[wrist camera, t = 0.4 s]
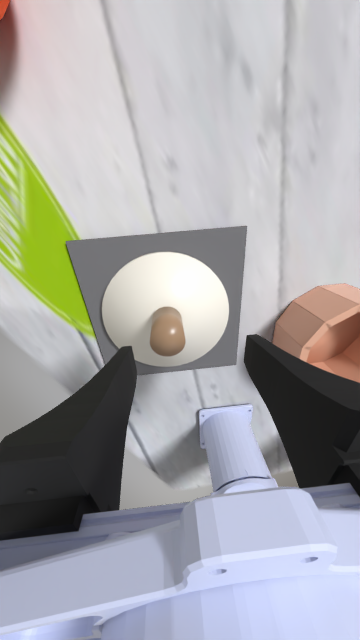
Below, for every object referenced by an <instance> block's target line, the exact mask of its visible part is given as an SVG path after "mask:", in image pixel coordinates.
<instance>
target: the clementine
mask: <svg viewBox="0 0 360 640" xmlns="http://www.w3.org/2000/svg"><path fill="white" fill-rule="evenodd" d="M9 2H10V0H0V20H1V19H2V18H3V17H4V14H5V12H6V9H7V7H8V4H9Z"/></svg>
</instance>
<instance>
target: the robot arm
mask: <svg viewBox="0 0 360 640" xmlns="http://www.w3.org/2000/svg"><path fill="white" fill-rule="evenodd" d="M244 363H245V365H246V368H247V371H248V373H249V375H250V377H251V379H252V381H253V383H254V385H255V386H256V388H257V390H258V392H259V393H260V395H261V397H262V399H263V401H264V402H265V404H266V406H267V408H268V410H269V412H270V414H271V416H272V419H273V421H274V423H275V425H276V428H277V430H278V433H279V435H280V437H281V440H282V442H283V445H284V447H285V450H286V453H287V455H288V458H289V460H290V463H291V466H292V468H293V471H294V474H295V477H296V480H297V483H298V486H299V488H298V487H278V485H277V483H276V481H275V478H272V477H271V474H270V472H269V470H268V467H267V465H266V462H265V460H264V457H263V455H262V453H261V450H260V448H259V445H258V443H257V440H256V438H255V436H254V433H253V431H252V428H251V426H250V424H251V417H252V411H253V406H252V405H251V404H246V405H237V406H228V407H220V408H211V409H202V410H200V411H199V429H200V447H201V449H206V452H207V458H208V463H209V469H210V474H211V480H212V485H213V491H214V492H213V493H211V495H210V496H205V497H202V498H197V499H195V500H193V501H192V502H184V503H176V504H167V505H159V506H150V507H142V508H133V509H125V510H119V505H120V491H121V478H122V468H123V458H124V448H125V439H126V431H127V425H128V419H129V415H130V410H131V406H132V401H133V397H134V392H135V387H136V379H137V368H136V364H135V359H134V354H133V350H132V346H123V347H121V348H120V349H119V350H118V351H117V352H116V354H115V355H114V356H113V357H112V358H111V359H110V360H109V362H108V363H107V364H106V365H105V366H104V367H103V368H102V369H101V370H100V371H99V372H98V373H97V374H96V375H95V376H94V377H93V378H92V379H91V380H90V381H89V382H88V383H87V384H85V385H84V386H83V387H82V388H81V389H79V390H78V391H77V392H76V393H75V394H73V395H72V396H70V397H69V398H68V399H66V400H65V401H64V402H62V403H61V404H60V405H58V406H57V407H55V408H54V409H52V410H51V411H49V412H48V413H46V414H44V415H43V416H41V417H40V418H38V419H36V420H35V421H33V422H31V423H29V424H28V425H26V426H24V427H22V428H21V429H18V430H17V431H15V432H13V433H12V434H9V435H8V436H6V437H4V439H3V440H2V441H1V443H0V640H360V383H359V382H356V381H353V380H350V379H347V378H344V377H341V376H338V375H336V374H333V373H330V372H328V371H325V370H323V369H320V368H318V367H316V366H313V365H311V364H309V363H307V362H305V361H303V360H301V359H299V358H297V357H295V356H293V355H291V354H289V353H288V352H286V351H284V350H282V349H281V348H279V347H277V346H276V345H274V344H272V343H271V342H269V341H267V340H266V339H264V338H262V337H260V336H259V335H257V334H255V335H247V338H246V346H245V355H244Z"/></svg>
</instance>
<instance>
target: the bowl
mask: <svg viewBox="0 0 360 640" xmlns="http://www.w3.org/2000/svg"><path fill="white" fill-rule="evenodd" d="M272 344H274V345H276V346H277V347H279V348H281V349H282V350H284V351H286V352H288V353H289V354H291V355H293V356H295V357H297V358H299V359H301V360H303V361H305V362H307V363H309V364H311V365H313V366H316V367H318V368H320V369H323V370H325V371H328V372H330V373H333V374H336V375H338V376H341V377H344V378H347V379H350V380H353V381H356V382H359V383H360V289H358V288H356V287H353V286H350V285H348V284H345V283H344V284H334V285H323V286H317V287H316V288H314V289H312V290H311V291H309V292H307V293H305V294H304V295H302V296H300V297H298V298H297V299H295V300H293V301H292V302H291V303H290V305H289V306H288V307H287V309H286V310H285V311H284V312H283V314H282V315H281V316H280V318H279V319H278V320H277V321H276V324H275V330H274V335H273V341H272Z"/></svg>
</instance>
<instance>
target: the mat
mask: <svg viewBox="0 0 360 640" xmlns="http://www.w3.org/2000/svg"><path fill="white" fill-rule="evenodd" d="M246 234H247V226H239V227H227V228H215V229H204V230H192V231H180V232H168V233H157V234H145V235H133V236H121V237H110V238H98V239H86V240H74V241H66V245H67V248H68V251H69V254H70V257H71V260H72V263H73V266H74V269H75V273H76V276H77V279H78V282H79V285H80V288H81V291H82V294H83V297H84V300H85V303H86V306H87V309H88V313H89V316H90V319H91V322H92V325H93V328H94V331H95V334H96V337H97V340H98V343H99V346H100V349H101V353H102V356H103V359H104V362H105V365H106V364H107V363H108V362H109V360H110V359H111V358H112V357H113V356H114V355H115V354H116V352H117V351H118V350H119V348H118V347H117V346H116V345H115V344H114V343H113V341H112V340H111V339H110V337H109V335H108V333H107V331H106V329H105V326H104V322H103V318H102V302H103V298H104V294H105V291H106V289H107V286H108V285H109V283H110V281H111V280H112V278H113V277H114V276H115V275H116V274H117V272H118V271H119V270H120V269H121V268H122V267H123V266H125V265H126V264H127V263H129V262H130V261H132V260H133V259H136V258H138V257H140V256H142V255H145V254H149V253H154V252H162V251H170V252H178V253H182V254H186V255H189V256H191V257H193V258H196V259H197V260H199V261H201V262H202V263H204V264H205V265H206V266H208V267H209V268H210V269H211V270H212V271H213V272H214V273H215V274H216V276H217V277H218V278H219V280H220V281H221V283H222V285H223V287H224V289H225V291H226V294H227V297H228V303H229V316H228V322H227V325H226V328H225V331H224V333H223V335H222V336H221V338H220V340H219V341H218V342H217V344H216V345H215V346H214V347H213V348H212V349H211V350H210V351H208V352H207V353H206V354H205V355H203V356H202V357H200V358H198V359H196V360H194V361H192V362H189V363H187V364H183V365H178V366H171V367H160V366H152V365H148V364H144V363H141V362H139V361H136V360H135V364H136V368H137V375H145V374H154V373H164V372H173V371H183V370H192V369H201V368H211V367H220V366H230V365H236V359H237V347H238V334H239V322H240V309H241V297H242V284H243V271H244V259H245V246H246Z"/></svg>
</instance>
